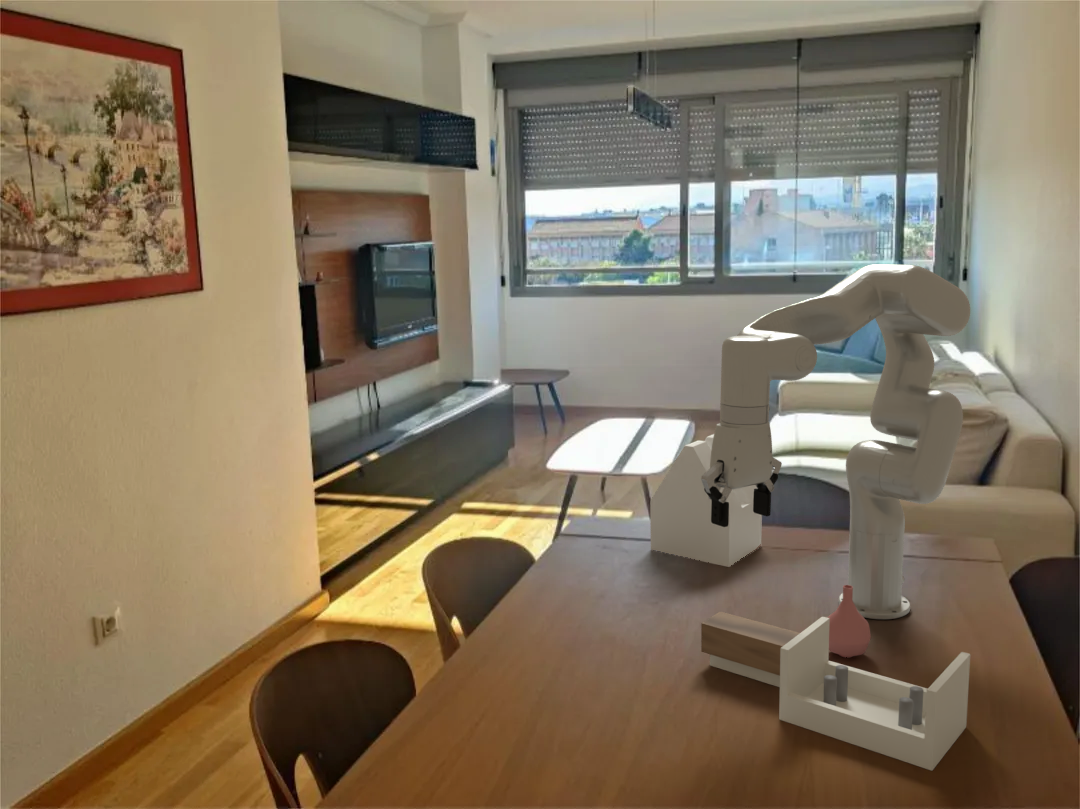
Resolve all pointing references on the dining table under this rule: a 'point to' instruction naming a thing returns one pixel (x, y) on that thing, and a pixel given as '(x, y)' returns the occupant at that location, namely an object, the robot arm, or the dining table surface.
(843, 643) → the pink vase
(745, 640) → the brown wooden block
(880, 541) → the robot arm
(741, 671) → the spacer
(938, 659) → the dining table surface
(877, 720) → the stand
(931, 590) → the dining table surface
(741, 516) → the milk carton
